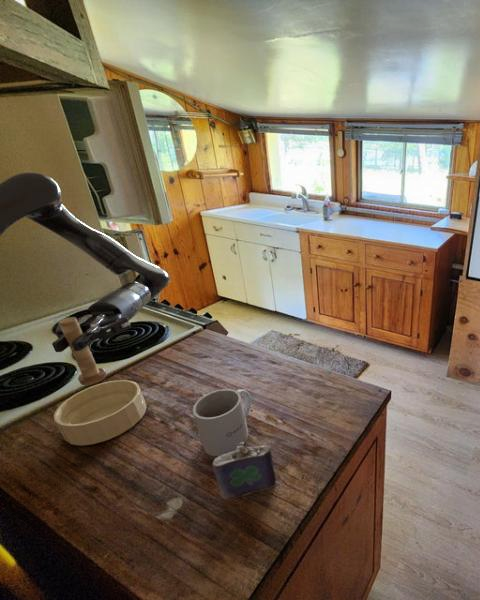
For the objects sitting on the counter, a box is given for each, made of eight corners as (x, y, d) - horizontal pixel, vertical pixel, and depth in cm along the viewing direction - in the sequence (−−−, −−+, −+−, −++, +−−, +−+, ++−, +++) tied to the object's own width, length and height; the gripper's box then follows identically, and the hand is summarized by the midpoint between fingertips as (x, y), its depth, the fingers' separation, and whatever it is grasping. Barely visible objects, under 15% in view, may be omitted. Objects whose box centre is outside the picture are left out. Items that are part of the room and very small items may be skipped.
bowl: (47, 451, 65) (34, 430, 63) (92, 403, 77) (82, 383, 75) (127, 442, 68) (117, 421, 65) (158, 396, 80) (151, 377, 78)
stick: (74, 386, 68) (45, 326, 62) (88, 373, 72) (62, 315, 66) (98, 384, 69) (72, 324, 63) (111, 371, 73) (87, 314, 67)
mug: (221, 462, 64) (211, 425, 60) (194, 445, 68) (182, 409, 64) (270, 421, 74) (264, 387, 70) (244, 408, 78) (237, 374, 74)
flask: (220, 502, 57) (208, 460, 53) (223, 488, 60) (211, 446, 55) (276, 487, 60) (269, 446, 56) (276, 474, 63) (269, 433, 58)
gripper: (77, 296, 76) (14, 333, 61) (144, 293, 79) (100, 329, 64) (88, 323, 79) (31, 366, 64) (153, 320, 82) (112, 360, 67)
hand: (66, 347), depth 64 cm, fingers closed on stick, 2 cm apart
